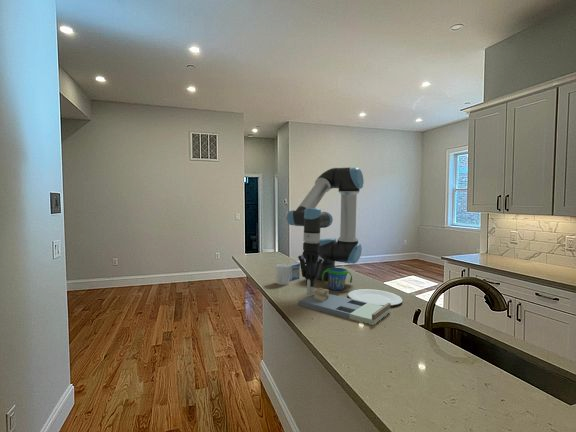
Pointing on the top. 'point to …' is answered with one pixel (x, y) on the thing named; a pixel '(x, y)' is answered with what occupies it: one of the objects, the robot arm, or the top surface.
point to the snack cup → (336, 278)
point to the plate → (375, 297)
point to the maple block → (321, 294)
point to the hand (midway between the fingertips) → (309, 293)
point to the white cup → (283, 274)
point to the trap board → (348, 308)
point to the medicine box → (294, 271)
